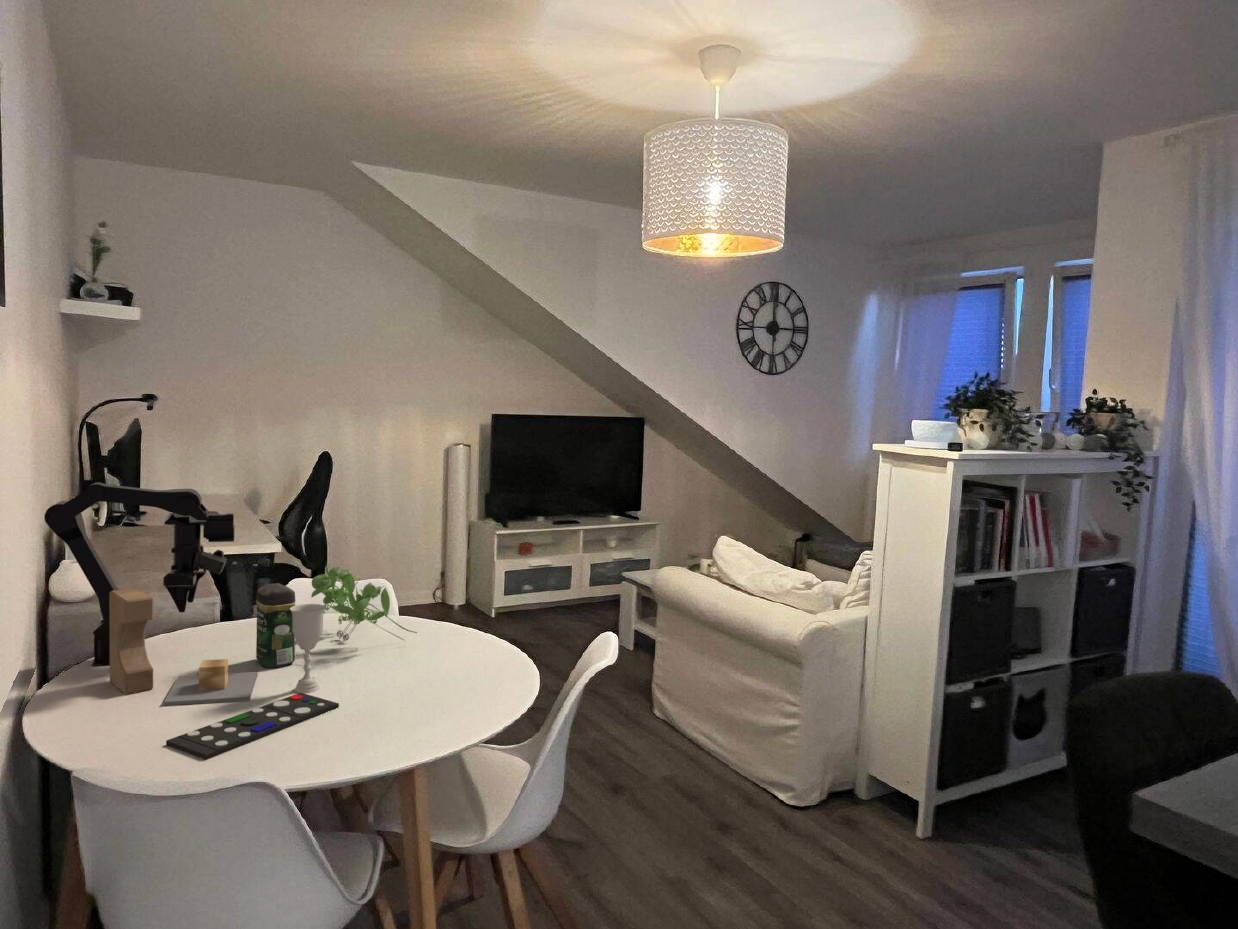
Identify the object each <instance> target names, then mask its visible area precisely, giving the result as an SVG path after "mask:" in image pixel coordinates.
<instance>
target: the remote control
mask: <svg viewBox="0 0 1238 929" xmlns="http://www.w3.org/2000/svg"><path fill="white" fill-rule="evenodd" d="M338 707H340V704H339V703H338V702H336V701H331V700H328V699H324V698H321V697H318V696H314V695H310V694H309V693H298V692H297V693H296V694H293V695H290V696H287V697H284V698H282V699H279V700H276V701H273V702H270V703H267V704H265V705H263V706H259V707H256V708H254V709H251V710H248V711H244V712H241V713H240V714H237V715H233V716H231V717H229V718H226V719H223V720H220V721H217V722H214V723H212V724H209V725H206V726H203V727H200V728H198V729H194V730H192V731H188V732H187V733H183V734H180V735H177V736H174V737H171V738H169V739H166V741H165V742H166V743H165V745H166V747H167V746H168V747H169V748H173V749H174V750H175V749H176V750H178V751H181V752H184V753H186V754H189V755H192V756H195V757H196V758H198V759H199V758H200V759H202V760H205V761H207V760H209V759H213V758H214V757H217V756H220V755H222V754H225V753H228V752H230V751H233V750H235V749H236V750H237V749H238V748H239V747H243V746H246V745H248V744H250V743H253V742H256V741H259V740H261V739H263V738H266V737H268V736H270V735H273V734H276V733H278V732H280V731H283V730H287V729H289V728H291V727H294V726H296V725H298V724H301V723H304V722H307V721H309V720H311V718H312V719H314V718H316V717H319V716H321V714H322V715H324V714H326V712H327V713H329V712H332V711H334V710H337V709H339V708H338ZM336 708H337V709H336ZM331 710H332V711H331ZM328 711H329V712H328Z"/></svg>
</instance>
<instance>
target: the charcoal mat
mask: <svg viewBox="0 0 1238 929" xmlns="http://www.w3.org/2000/svg"><path fill="white" fill-rule="evenodd" d="M257 675H258V671H253V672H252V671H249V672H232V673H230V672H228V682H227V685H226V687H225V689H220V690H202V691H199V674H194V675H193V674H191V675H189V674H188V675H178V677H177V679H176V681H175V682H174V684H173V685H172V688H170V691H169V692H168V694H167V696H166V697H165V700H164V701H163V706H166V707H167V706H179V705H180V706H182V705H195V704H196V705H197V704H214V703H229V702H243V701H244V702H245V701H247V702H248V701H250V700H251V697H252V695H253V691H254V688H255V684H256V682H257V678H258V676H257ZM255 681H256V682H255Z"/></svg>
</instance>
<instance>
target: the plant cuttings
mask: <svg viewBox="0 0 1238 929" xmlns="http://www.w3.org/2000/svg"><path fill="white" fill-rule="evenodd" d="M339 569H340V567H339V566H337V565H336V566H334V567H332V568H331V566H330V565H327V566H326V568H325V572H326V574H325V573H322V574H318V575H316V576H314V577H313V578H312V579H311V586H312V588H313V589H314V590H313V591H312V593H311V596H310V598H313V597H315V596H318V595H319V594H323V595H324V598H323V600H322V602H323V605H324V606H326V608H325V610H324V612H323V615H325V614H326V611H327V612H329V610H330V609H333V610H334V611H336V612H338V613H340V614H341V615H339V616H338V619H337V621H338V625H342V623H343V622H348V624H347V625H346V627H345V629H344V630H342V629H340V630H337V632H336V633H335V635H336V637H337V638H339V641H341V640H342V643H344V642H346V641H348V640H349V639H350V635H351V634H352V633H353V631H354V630H355V628H357V625H359V624H360V623H361V622H364V621H367V622H369V623H371V624H373V625H375V626H376V627H378V628H380V629H382V630H384V631H385V632H387V633H389V634H391V635H393V636H395V637H396V638H398V639H399V640H402V641H404V642H406V640H405V639H403V638H402V637H400V636H398V635H396V634H395V633H392V632H391V631H388V630H386V629H385V628H383V627H380V626H379V625H378V624H377V623H378V619H381V618H383V617H385V618H387V619H389V620H390V621H391V622H392V623H393V624H395V625H396V626H398V627H399V628H400V629H401V630H404V631H406V632H409V633H415V634H417V633H418V632H417V631H413V630H410V629H408V628H405V627H403V626H402V625H400V624H399V623H397V622H395V621H394V620H393V619H391V618H390V617H389V616H388V615H389V612H390V604H391V600H390V595H389V592H388V590H387V587H384V586H385V585H383V586H380V585H378V586H375V585H374V584H372V582H369V583H367V584H366V585H364V587H363V589H362V588H361V589H359V591H361V592H360V593H359V592H358V589H357V584H358V582H359V581H360V577H359V575H355V576H354V575H353V574H352V573H351V572H350V571H349V570H350V568H348V569H344V568H343V569H340V570H339ZM355 578H356V579H357V580H355ZM337 579H338V580H339V582H340V584H341V587H340V588H339V586H337V585H336V582H337ZM383 587H384V588H383ZM382 588H383V589H382ZM355 590H356V591H355ZM354 592H356V595H354ZM361 594H362V595H361ZM378 596H380V602H381V604H380V605H381V607H382V609H383V611H381V610H380V609H378V608H377V607H376V606H375V605H373V604H372V603H370V602H371V600H374V599H375V598H378ZM335 604H337V605H335ZM368 606H371V607H373V608H375V609H376V610H373V609H370V608H369V607H368ZM343 614H344V615H343ZM351 624H352V625H354V626H353V627H352V628H351V630H350V632H349V633H347V631H348V629H349V627H350V626H351Z"/></svg>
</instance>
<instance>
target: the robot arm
mask: <svg viewBox="0 0 1238 929" xmlns="http://www.w3.org/2000/svg"><path fill="white" fill-rule="evenodd" d="M202 499H203V498H202V495H201V494H200V493H199V492H198V491H197V490H195V489H193V488H172V489H164V490H161V489H158V490H157V489H150V488H144V487H143V488H141V487H134V486H123V485H116V484H115V485H114V484H107V483H103V482H94V483H92V484H90V485H89V486H88V487H87V489H85V490H83V491H82V492H80V493H79V494H77V495H75V496H74V497H73V498H71V499H69V500H61V501H58V502H56V503H54V504H53V505H51V506H49V508H47V509H46V511H45V513H44V515H43V516H44V522H45V524H46V525H47V526H48V527H49V528H50V530H51V531H52V532H53V533H54V534H55V535H56V536H57V537H58V538H60V539H61V540H62V541H63V542H64V543H65V544H66V545H67V546H68V549H69V551H70V552H71V553H72V556H73V557H74V558H75V561H76V562H77V564H78V565H79V567H80V570H81V571H82V572H83V574H84V576H85V578H86V580H87V581H88V583H89V585H90V586H91V588H92V590H93V591H94V593H95V596H96V597H97V600H98V604H99V610H100V612H101V616H102V620H101V621H99V623H98V624H97V626H96V627H95V629H94V630H93V631H92V632H93V633H92V634H93V661H92V662H91V666H102V665H103V666H104V665H107V666H109V665H110V609H109V593H110V592H111V591H114V590H120V589H119V588H118V587H117V585H116V584H115V582H114V580H113V579H112V577H111V575H110V573H109V572H108V570H107V567H106V566H105V564H104V563H103V561H102V559H101V558H100V556H99V553H98V552H97V551H96V549H95V546H94V545H93V543H92V542H91V540H90V538H89V537H88V534H87V530H86V525H85V520H84V517H83V514H82V513H83V512H84V511H85V510H87V509H88V508H91V507H92V506H94V505H95V504H96V503H98V502H103V503H106V502H107V503H115V504H123V505H132V506H133V505H134V506H142V507H149V508H150V507H151V508H152V507H153V508H158V509H161V510H164V511H166V512H169V513H171V515H170V516H169V517H168V518H167V519H165V521H164V523H163V524H164V525H173V547H171V552H170V553H172V554H173V559H172V560H173V564H172V565H171V566H170V569H171V570H170V571H169V572H168V573H167V574H166V575H164V576H163V579H162V580H163V582H162V584H163V586H164V587H165V589H167V592H168V593H169V595H170V596H171V599H172V600H173V602H174V604H175V607H176V608H177V609H178V612H179V613H185V611H186V607H187V604H188V603H194V600H195V597H196V592H197V589H198V586H199V581H200V579H201V578H203V576H205V575H206V574H207V571H209V572H212V574H215V575H220V574H222V572H223V570H224V568H225V566H226V563H227V560H228V559H227V557H225V554H224V551H223V550H220V549H217V550H215V551H214V552H213V553H212V552H207V551H204V550H205V548H204V546H203V544H201V537H202V536H201V534H202V533H203V534H202V535H203V539H205V540H208V543H228V542H231V543H234V542H235V533H236V532H235V531H236V530H235V529H236V527H235V526H236V525H235V521H234V520H235V516H234V515H235V514H234V513H229V512H228V513H223V514H222V513H219V514H218V513H215V514H214V513H213V514H212V513H211V512H210V511H209V510H208V508H206V507H205V505H204V504H203V502H202V501H203V500H202ZM178 515H179V516H178ZM191 517H192V518H193V519H192V518H191ZM201 525H203V527H202V528H203V530H202V531H201ZM201 532H202V533H201Z"/></svg>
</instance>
